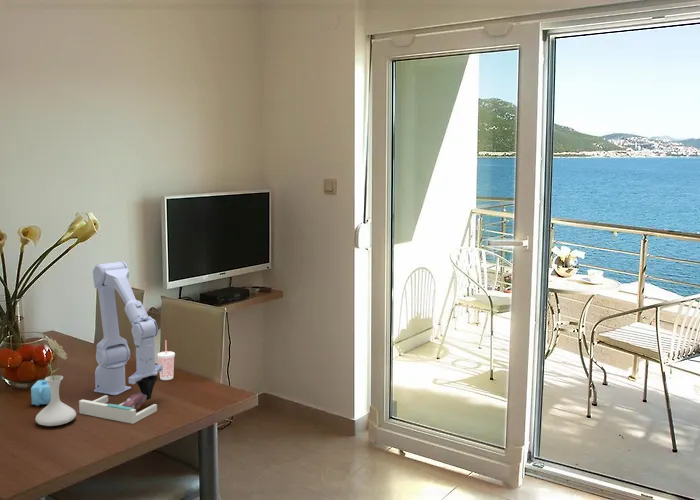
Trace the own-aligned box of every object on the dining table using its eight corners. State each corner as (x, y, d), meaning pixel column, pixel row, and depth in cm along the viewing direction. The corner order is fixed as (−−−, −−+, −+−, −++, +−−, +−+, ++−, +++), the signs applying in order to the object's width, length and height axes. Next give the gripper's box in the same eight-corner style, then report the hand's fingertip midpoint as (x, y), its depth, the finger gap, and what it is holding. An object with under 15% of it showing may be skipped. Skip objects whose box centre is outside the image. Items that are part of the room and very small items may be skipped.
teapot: (42, 395, 230) (41, 373, 229) (61, 395, 231) (60, 373, 230) (30, 409, 218) (29, 386, 217) (50, 408, 219) (49, 385, 218)
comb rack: (79, 413, 215) (78, 400, 214) (105, 401, 225) (104, 388, 225) (132, 423, 207) (132, 410, 207) (157, 410, 218) (156, 397, 217)
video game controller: (125, 422, 212) (133, 403, 210) (113, 414, 213) (121, 395, 211) (144, 410, 221) (151, 393, 219) (132, 403, 222) (140, 385, 220)
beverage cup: (154, 380, 246) (153, 341, 244) (162, 374, 252) (161, 337, 250) (171, 381, 245) (170, 343, 243) (178, 375, 251) (177, 338, 249)
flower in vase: (78, 425, 205) (74, 344, 202) (36, 432, 200) (31, 348, 197) (74, 410, 217) (70, 333, 213) (34, 416, 212) (30, 337, 208)
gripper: (141, 365, 211) (142, 408, 213) (170, 353, 225) (171, 393, 227) (122, 362, 214) (123, 404, 216) (152, 350, 227) (153, 390, 229)
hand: (146, 398), depth 221 cm, fingers closed
